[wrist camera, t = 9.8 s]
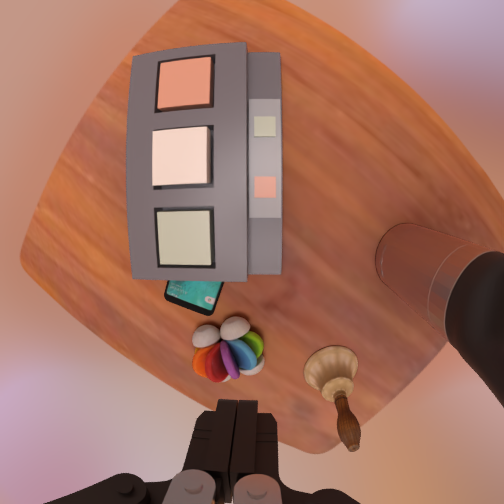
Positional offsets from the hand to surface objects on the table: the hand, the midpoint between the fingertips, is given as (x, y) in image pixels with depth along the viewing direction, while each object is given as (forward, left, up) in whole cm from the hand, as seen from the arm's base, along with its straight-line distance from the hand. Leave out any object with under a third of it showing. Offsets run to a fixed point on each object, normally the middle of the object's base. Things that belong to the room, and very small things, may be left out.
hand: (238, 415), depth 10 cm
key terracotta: (+8, -21, -25) cm, 34 cm away
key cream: (+8, -12, -24) cm, 28 cm away
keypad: (+6, -12, -27) cm, 30 cm away
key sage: (+8, -3, -25) cm, 27 cm away
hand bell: (-11, +17, -27) cm, 34 cm away
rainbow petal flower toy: (+4, +12, -27) cm, 30 cm away
